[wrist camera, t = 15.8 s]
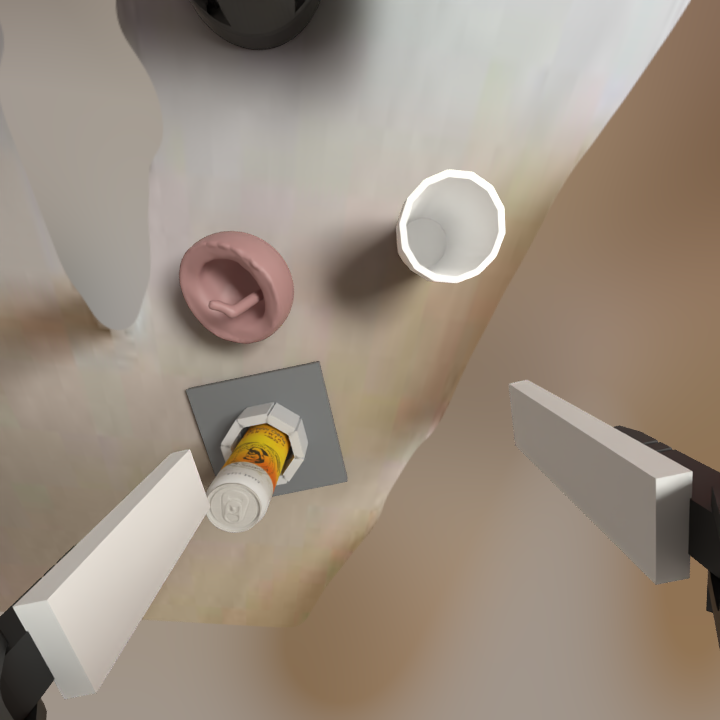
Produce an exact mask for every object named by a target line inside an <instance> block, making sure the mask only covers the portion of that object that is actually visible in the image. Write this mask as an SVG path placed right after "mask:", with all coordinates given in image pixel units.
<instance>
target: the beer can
mask: <svg viewBox="0 0 720 720" xmlns="http://www.w3.org/2000/svg"><path fill="white" fill-rule="evenodd" d="M290 445H291V442H290V439H289V435H287V434H286V433H284V432H282V431H280V430H279V429H277V428H275V427H273V426H272V425H270V424H268V423H263V424H258V425H254V426H250V428H249V429H248V431H247V432H246V434H245V435H244V436H243V438H242V439H241V441H240V442H239V444H238V445H237V447H236V448H235V450H234V451H233V452H232V454H231V455H230V457H229V458H228V460H227V461H226V463H225V464H224V466H223V467H222V468H221V470H220V471H219V473H218V474H217V476H216V477H215V479H214V480H213V482H212V483H211V484H210V486H209V488H208V490H207V492H206V496H207V499H208V502H209V504H210V508H209V510H208V512H207V513H206V515H207V517H208V519H209V520H210V522H211V523H212V524H213V525H214V526H216V527H217V528H219V529H221V530H223V531H226V532H232V533H238V532H243V531H246V530H248V529H250V528H252V527H253V526H254V525H255V524H256V523H257V522H259V521H260V520H261V519H262V518H263V517H264V515H265V513H266V511H267V509H268V506H269V503H270V500H271V498H272V495H273V492H274V490H275V487H276V484H277V481H278V479H279V476H280V473H281V470H282V468H283V465H284V462H285V459H286V457H287V454H288V451H289V448H290Z"/></svg>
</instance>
